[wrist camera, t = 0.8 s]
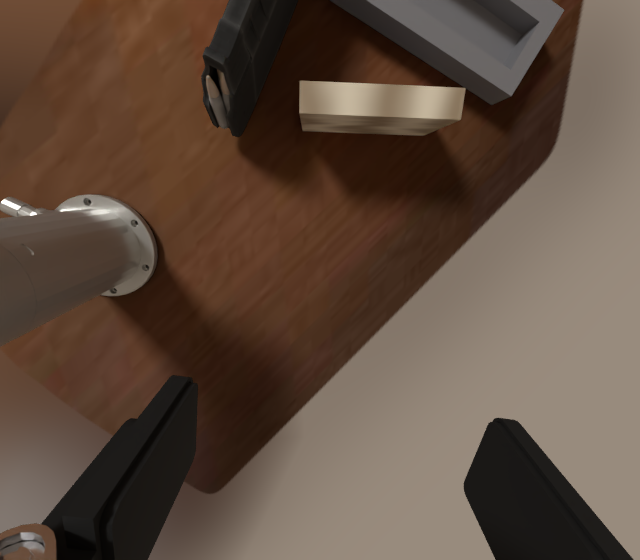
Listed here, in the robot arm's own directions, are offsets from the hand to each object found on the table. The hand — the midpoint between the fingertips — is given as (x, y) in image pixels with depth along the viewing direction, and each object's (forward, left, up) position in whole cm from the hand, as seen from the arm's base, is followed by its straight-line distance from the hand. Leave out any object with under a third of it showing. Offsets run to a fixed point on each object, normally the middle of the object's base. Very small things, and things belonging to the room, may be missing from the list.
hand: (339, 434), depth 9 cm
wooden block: (-2, +15, -30) cm, 34 cm away
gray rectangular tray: (0, +27, -30) cm, 40 cm away
